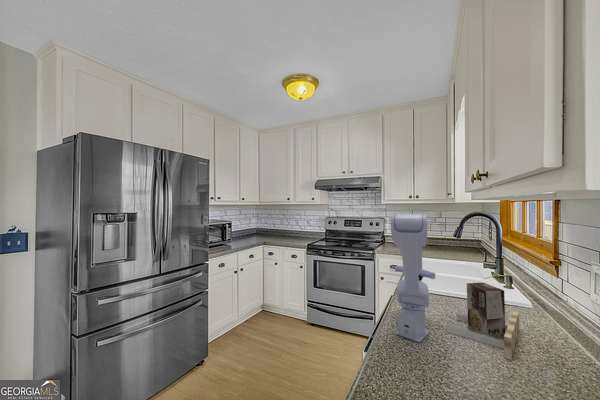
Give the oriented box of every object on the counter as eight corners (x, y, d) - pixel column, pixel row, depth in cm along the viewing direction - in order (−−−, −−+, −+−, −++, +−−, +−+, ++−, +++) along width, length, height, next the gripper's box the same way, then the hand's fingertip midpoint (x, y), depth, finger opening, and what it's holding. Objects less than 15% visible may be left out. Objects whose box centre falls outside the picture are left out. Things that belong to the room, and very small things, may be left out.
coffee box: (507, 342, 80) (505, 290, 81) (487, 342, 80) (486, 291, 80) (484, 328, 89) (483, 281, 90) (466, 328, 89) (465, 282, 89)
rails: (506, 350, 76) (506, 341, 76) (446, 331, 87) (446, 324, 87) (512, 333, 85) (511, 326, 85) (457, 319, 96) (457, 312, 97)
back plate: (511, 360, 71) (510, 338, 71) (504, 358, 72) (504, 336, 72) (519, 329, 88) (518, 312, 88) (513, 328, 89) (513, 311, 89)
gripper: (438, 259, 95) (438, 295, 95) (400, 253, 106) (400, 286, 106) (431, 263, 90) (431, 301, 90) (392, 256, 101) (392, 290, 101)
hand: (414, 293), depth 98 cm, fingers closed
